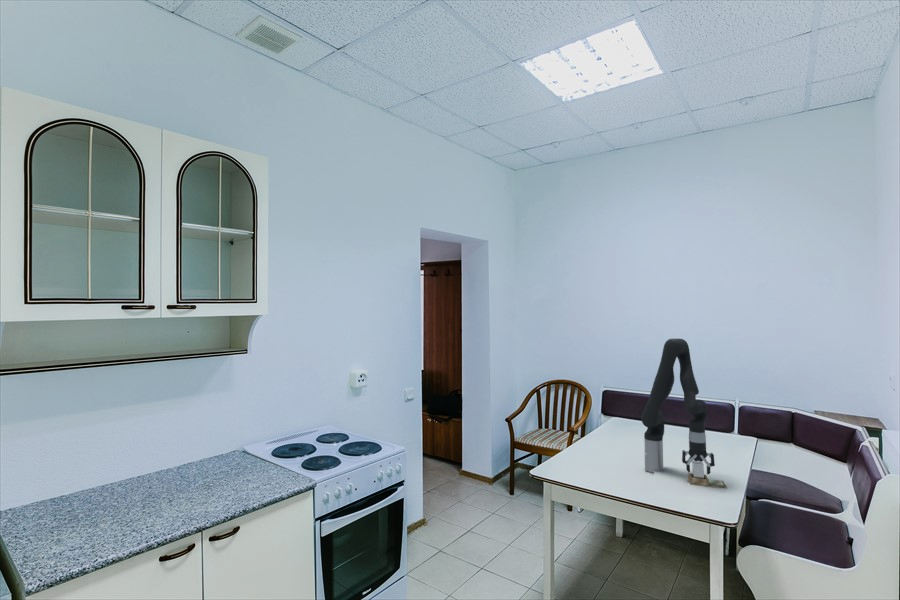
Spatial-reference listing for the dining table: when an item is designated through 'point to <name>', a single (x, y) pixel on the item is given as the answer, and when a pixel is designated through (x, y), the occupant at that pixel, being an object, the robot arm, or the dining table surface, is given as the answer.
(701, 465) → the block
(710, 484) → the brown compartment tray
